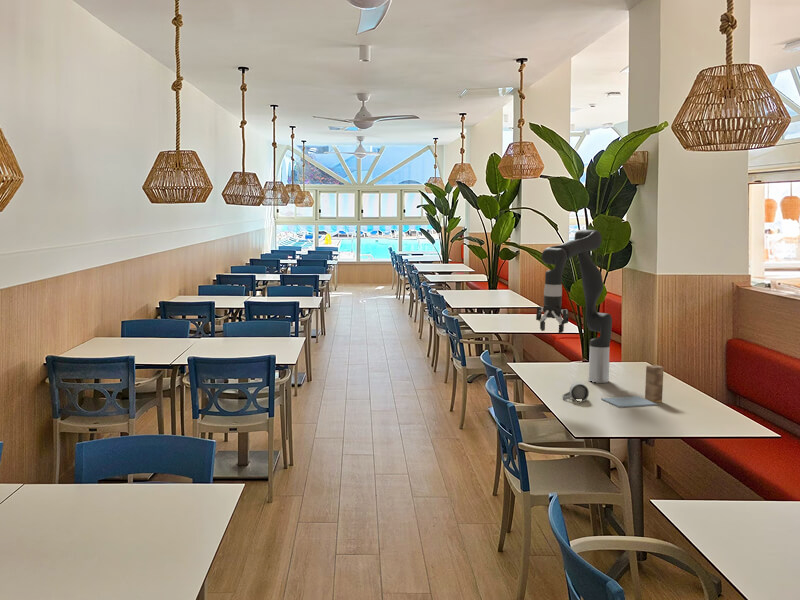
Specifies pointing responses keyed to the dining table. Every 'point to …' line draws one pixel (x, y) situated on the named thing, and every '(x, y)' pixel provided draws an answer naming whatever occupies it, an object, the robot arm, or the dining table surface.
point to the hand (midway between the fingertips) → (551, 331)
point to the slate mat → (629, 401)
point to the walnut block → (654, 383)
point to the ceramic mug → (577, 392)
